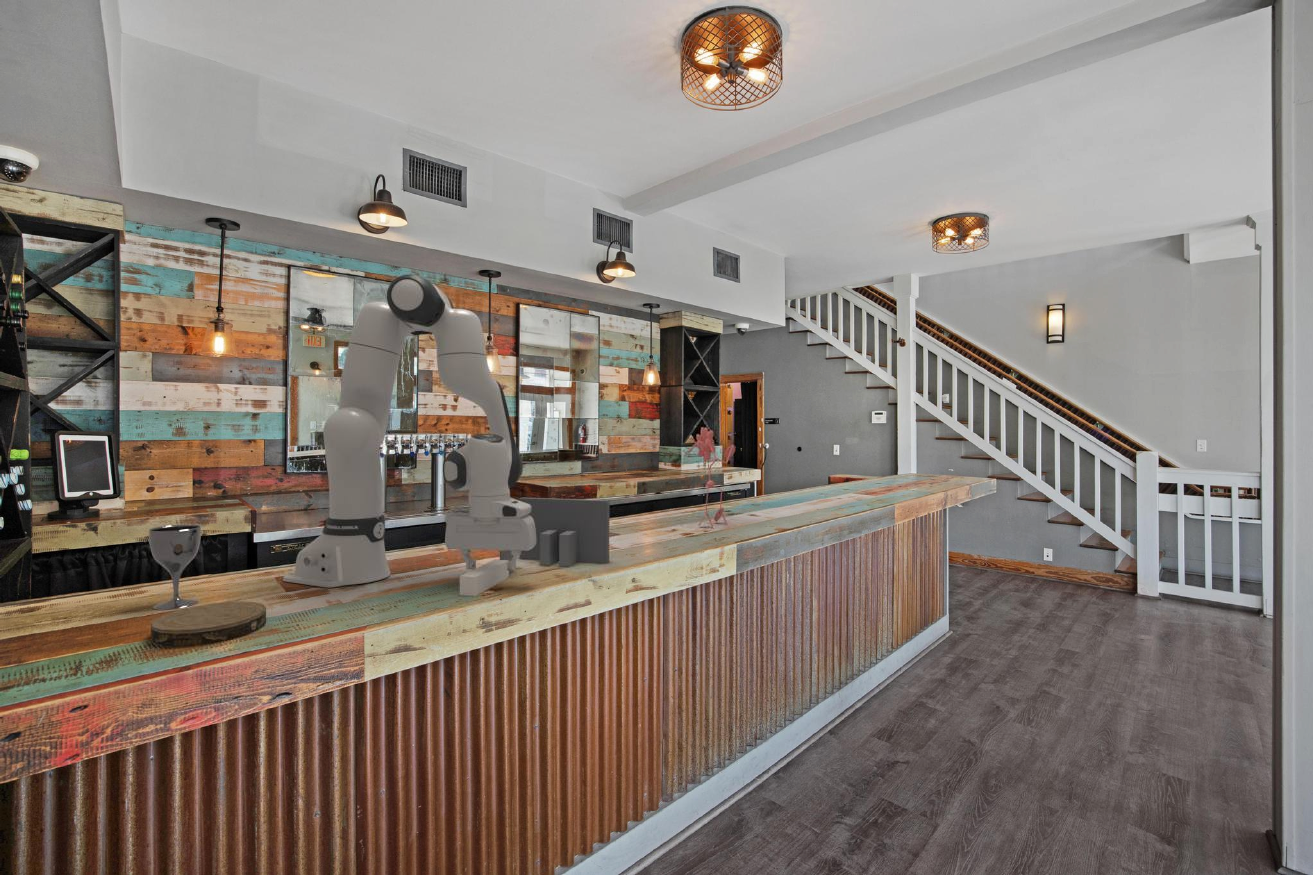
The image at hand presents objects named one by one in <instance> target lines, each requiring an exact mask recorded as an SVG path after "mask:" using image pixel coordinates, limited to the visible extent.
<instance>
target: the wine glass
mask: <svg viewBox="0 0 1313 875" xmlns="http://www.w3.org/2000/svg"><path fill="white" fill-rule="evenodd" d="M201 528H202V526H201V525H200V524H172V525H165V526H158V527H153V528H149V530H148V541H149V548H150V552H151V554H152V557H153V559H154V560H155V562H156V563H157V564H159V565H160V566H162V567H163V568H164V570H166V571H167V572H168V573H169V575H170V577H171V580H172V588H173V597H172V598H171V599H169V600H167V601H163V602H160V603H157V604H155V605H153V606H152V609H153V610H157V611H159V610H160V611H169V610H177V608H179V609H185V608H188V607H193V606H194V604H195V605H197V604H198V603H199V602H200V601H199V600H198V599H196V598H181V597H180V595H179V590H180V589H179V585H180V579H181V576H182V573H183V571H184V570H185V569H186V567H187V566H188V565H189V564H190V563H191V561H193V560H194V559H195V557H196V556H197V554H198V551H199V549H200V544H201V536H202V529H201ZM187 606H188V607H187Z"/></svg>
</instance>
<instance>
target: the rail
mask: <svg viewBox="0 0 1313 875" xmlns="http://www.w3.org/2000/svg"><path fill="white" fill-rule="evenodd" d="M513 556H514V555H511V550H499V559H493V560H491V561H489V562H487V563H485V564H482V565H480V566H478V567H476V568H475V569H474V570H470V571H467V572H465V573H463V574H461V575H459V596H463V597H464V596H465V597H476V596H479V595H480V594H482V593H483V592H486V591H487V590H489V589H491V588H493V587H494V586H496V585H498V584H500V583H502V582H503V581H505V580H506V579H509V576H510V575H511V574H512V573H515V572H516V571H515V570H516V569H515V570H514V571H510V570H507V562H509V561H511V560H512V558H513ZM501 581H502V582H501Z"/></svg>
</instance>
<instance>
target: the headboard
mask: <svg viewBox="0 0 1313 875" xmlns="http://www.w3.org/2000/svg"><path fill="white" fill-rule="evenodd" d="M519 501H521V502H524V503H527V504H530V505H531V508H532V510H531V513H529V514H528V515H530V516H531V517H532V518H533V520H534V523H535V528H536V545H535V546H534V548H532V549H531V550H528V551H522V550H521V554H520V556H519V558H518V559H520V560H534V561H535V560H536V561H539V566H541V565H542V566H545V567H550V566H552V565H554V564H555V563H557V562H558V564H559V565H558V566H559V568H560V567H564V568H570V567H572V566H573V565H574V564H576V563H591V564H593V563H594V564H609V562H610V500H609V499H585V498H583V499H580V498H547V497H546V498H545V497H520V498H519Z"/></svg>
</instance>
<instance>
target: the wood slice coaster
mask: <svg viewBox="0 0 1313 875" xmlns="http://www.w3.org/2000/svg"><path fill="white" fill-rule="evenodd" d="M266 623H267V606H266V605H264V604H263V603H260V602H255V601H224V602H215V603H207V604H202V605H196V606H194V605H193V606H189V607H185V608H180V609H178V610H177V609H176V610H175V611H174V610H173V611H171V612H168V613H165V614H163V615H160V616H158V617H157V618H154V620H152V622H150V640H151V639H152V640H151V642H152V641H153V642H152V644H153V643H155V644H154V645H156V644H158V645H157V646H159V645H161V646H160V647H164V646H165V647H166V648H167V647H168V648H187V646H192V647H196V646H195V645H200V646H209V645H214V644H219V643H223V642H229V641H233V640H235V639H239V638H243V637H246V636H249V635H250V634H254V633H256V632H258V631H260V630H261V629H262V628H264V627H265V626H266ZM206 644H207V645H206Z"/></svg>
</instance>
